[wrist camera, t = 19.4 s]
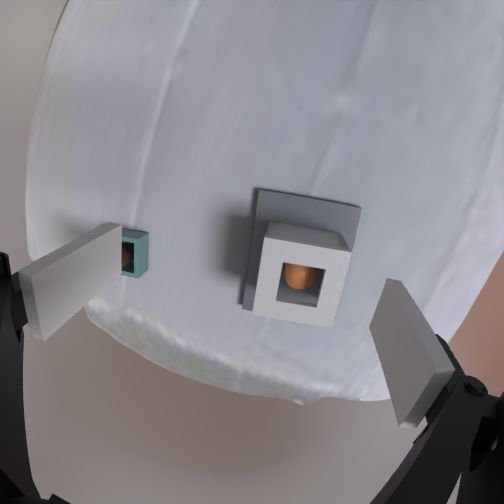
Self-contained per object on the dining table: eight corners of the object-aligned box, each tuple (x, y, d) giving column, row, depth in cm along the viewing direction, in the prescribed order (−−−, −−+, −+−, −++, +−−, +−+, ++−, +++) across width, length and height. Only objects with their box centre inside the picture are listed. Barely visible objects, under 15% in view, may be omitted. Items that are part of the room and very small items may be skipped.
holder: (114, 227, 47) (103, 233, 43) (148, 232, 46) (138, 239, 43) (115, 263, 49) (104, 270, 45) (147, 270, 48) (138, 278, 45)
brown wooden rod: (120, 239, 47) (58, 276, 31) (138, 242, 46) (78, 282, 31) (120, 258, 48) (61, 300, 32) (137, 261, 47) (81, 306, 32)
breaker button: (288, 247, 43) (287, 258, 38) (315, 252, 42) (317, 264, 38) (283, 273, 44) (282, 286, 40) (310, 277, 44) (311, 291, 39)
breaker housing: (259, 188, 42) (251, 199, 34) (360, 206, 41) (376, 221, 33) (242, 305, 48) (232, 338, 40) (331, 320, 47) (337, 354, 39)
